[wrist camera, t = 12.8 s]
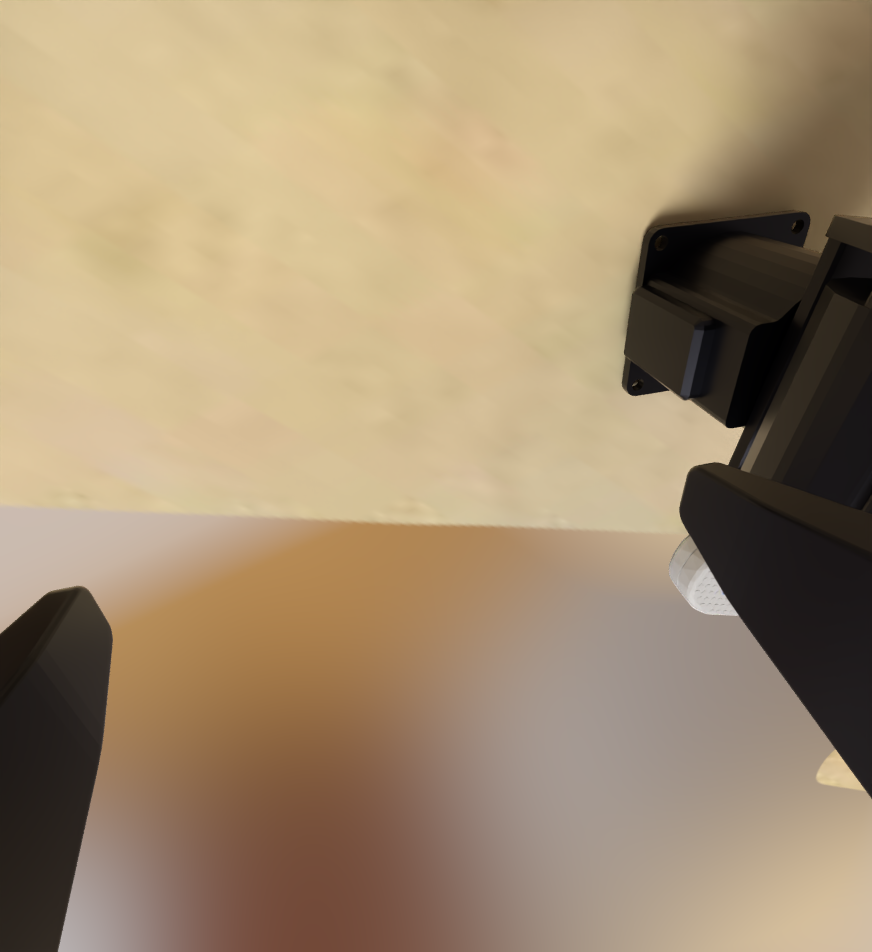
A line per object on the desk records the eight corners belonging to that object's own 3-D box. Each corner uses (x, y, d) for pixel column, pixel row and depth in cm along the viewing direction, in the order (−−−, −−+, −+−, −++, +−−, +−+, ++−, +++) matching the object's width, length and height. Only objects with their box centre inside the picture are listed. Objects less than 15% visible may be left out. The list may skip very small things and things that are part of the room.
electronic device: (835, 657, 21) (1075, 662, 26) (692, 506, 29) (894, 529, 34) (760, 739, 24) (989, 730, 28) (648, 580, 32) (840, 592, 36)
